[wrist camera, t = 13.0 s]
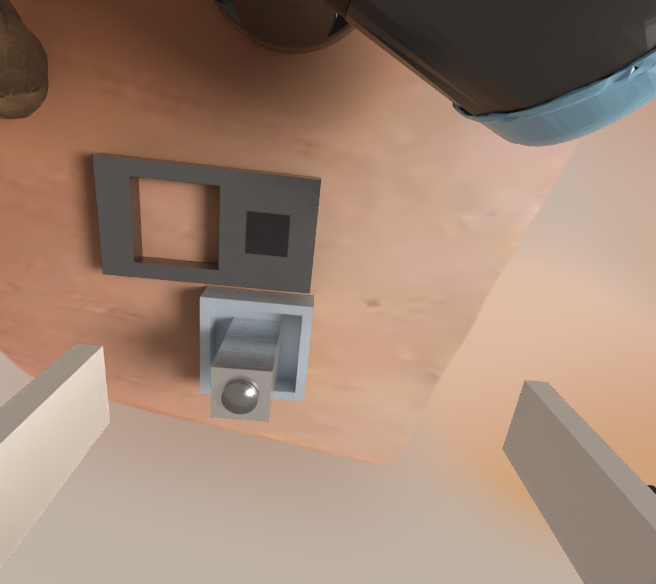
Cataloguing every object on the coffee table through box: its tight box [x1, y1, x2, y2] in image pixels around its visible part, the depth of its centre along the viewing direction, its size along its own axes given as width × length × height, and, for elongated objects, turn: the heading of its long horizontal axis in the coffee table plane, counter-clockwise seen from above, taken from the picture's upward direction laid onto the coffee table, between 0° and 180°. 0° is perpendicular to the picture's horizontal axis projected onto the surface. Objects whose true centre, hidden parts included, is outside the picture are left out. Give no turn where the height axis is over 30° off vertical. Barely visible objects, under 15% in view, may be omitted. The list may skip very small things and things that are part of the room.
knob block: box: [210, 317, 282, 422], centre depth 38 cm, size 5×5×11 cm
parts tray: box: [200, 286, 314, 401], centre depth 42 cm, size 11×11×3 cm
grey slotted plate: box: [92, 154, 321, 293], centre depth 38 cm, size 11×20×2 cm, turn 84°
